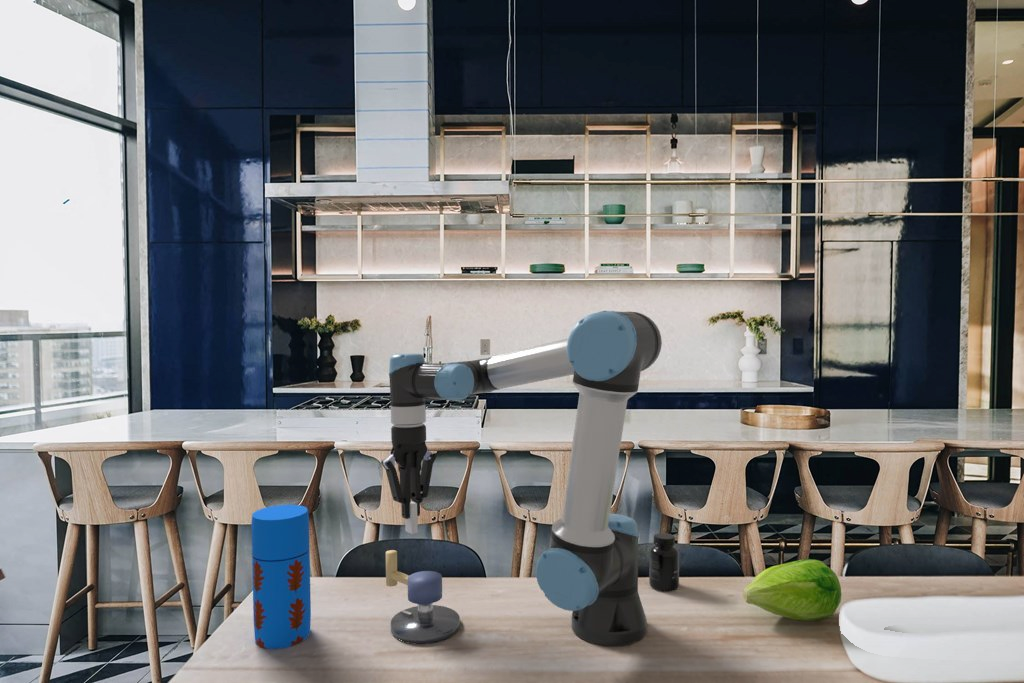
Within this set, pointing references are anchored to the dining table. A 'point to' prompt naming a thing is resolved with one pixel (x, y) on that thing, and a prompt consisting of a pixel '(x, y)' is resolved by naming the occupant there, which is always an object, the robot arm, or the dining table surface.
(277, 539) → the thermos
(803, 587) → the lettuce
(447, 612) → the post base
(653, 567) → the supplement bottle
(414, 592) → the blue crank handle
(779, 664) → the dining table surface
